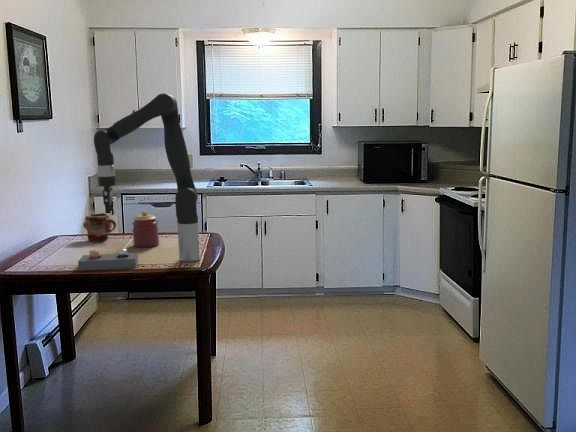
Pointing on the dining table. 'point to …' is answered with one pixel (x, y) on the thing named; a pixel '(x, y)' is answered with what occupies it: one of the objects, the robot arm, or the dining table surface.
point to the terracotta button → (94, 254)
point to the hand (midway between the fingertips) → (109, 212)
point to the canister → (145, 231)
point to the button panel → (108, 262)
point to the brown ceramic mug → (98, 226)
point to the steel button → (122, 252)
